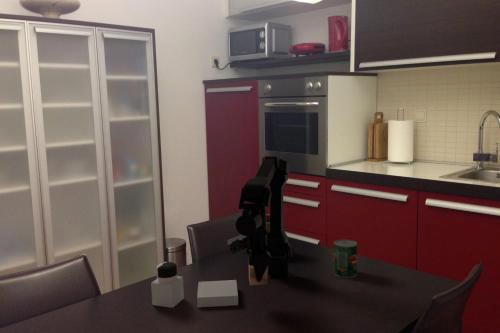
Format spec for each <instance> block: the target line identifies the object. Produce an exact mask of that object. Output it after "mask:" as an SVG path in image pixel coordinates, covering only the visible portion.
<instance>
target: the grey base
mask: <svg viewBox="0 0 500 333" xmlns="http://www.w3.org/2000/svg"><path fill="white" fill-rule="evenodd" d="M196 295H197V296H196V299H197V300H196V302H197V305H196V306H197V308H209V307H212V308H213V307H227V306H228V307H229V306H239V294H238V284H237V279H232V280H231V279H229V280H227V279H226V280H211V281H209V280H208V281H207V280H206V281H198V285H197V294H196Z"/></svg>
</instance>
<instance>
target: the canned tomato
mask: <svg viewBox="0 0 500 333" xmlns="http://www.w3.org/2000/svg"><path fill="white" fill-rule="evenodd" d="M333 274H334V276H336V277H338V278H342V279H343V278H344V279H350V278H355V277H357V276H358V242H357V241H355V240H352V239H337V240H334V241H333Z"/></svg>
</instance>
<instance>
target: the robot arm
mask: <svg viewBox="0 0 500 333" xmlns="http://www.w3.org/2000/svg"><path fill="white" fill-rule="evenodd" d="M290 166H291V165H290V163H289V162H288V161H287V160H284V159H282V158H280V157H279V156H277V155H265V156H262V159H261V163H260V166H259V168H258V169H257V171H256V172H255V173H256V174H255V175H254V177H252V178H250V179H248V180H247V181H246V182H245V183H244V185H243V186H242V188H241V192H240V198H239V203H238V210H242V211H241V215H240V216H239V217H238V218H236V222H235V229H236V231H237V233H238V235H237V236H234V237H232V238H230V239H227V246H228V248H229V251H230V253H231V254H232V255H234V254H237V253H238V252H240V251H243V250H245V252H246V254H247V261H248V263H249V264H248V266H249V265H251V266H253V267H254V271H255V275H256V280H257V282H261V280H262V277H263V275H264V273H265V270H266V268H267V276H269V278H270V279H283V278H286V279H287V278H289V277H290V275H289V261H290V260H292V259H293V252H292V251H293V250H292V248H291V244H290V242H289V237H288V235H287V233H286V231H285V230H284V187H285V186H286V184H287V182H288V180H289V175H290V173H291V167H290ZM268 207H269V214H270V231H269V233H268V231H267V221H266V214H267V209H268Z"/></svg>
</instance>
